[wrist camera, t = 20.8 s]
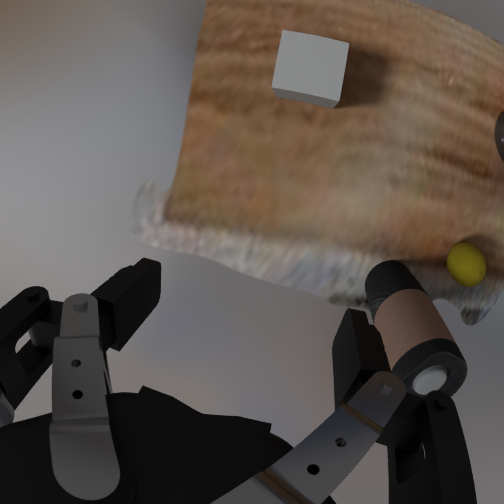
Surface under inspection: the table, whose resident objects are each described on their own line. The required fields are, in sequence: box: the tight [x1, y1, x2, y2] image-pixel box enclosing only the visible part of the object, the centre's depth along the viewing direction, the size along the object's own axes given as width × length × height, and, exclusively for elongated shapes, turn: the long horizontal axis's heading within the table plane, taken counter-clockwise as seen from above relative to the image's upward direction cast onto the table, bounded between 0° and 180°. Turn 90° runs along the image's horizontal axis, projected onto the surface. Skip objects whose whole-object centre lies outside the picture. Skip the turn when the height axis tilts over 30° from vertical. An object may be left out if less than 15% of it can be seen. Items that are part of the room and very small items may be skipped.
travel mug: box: [365, 261, 467, 398], centre depth 28 cm, size 8×8×20 cm
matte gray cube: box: [272, 30, 349, 109], centre depth 26 cm, size 7×7×7 cm
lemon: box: [447, 242, 486, 287], centre depth 30 cm, size 6×6×8 cm
